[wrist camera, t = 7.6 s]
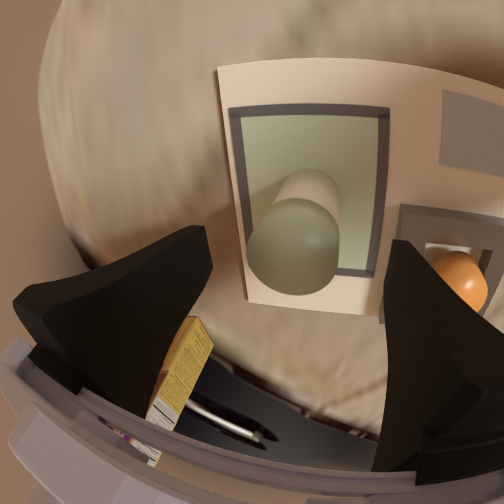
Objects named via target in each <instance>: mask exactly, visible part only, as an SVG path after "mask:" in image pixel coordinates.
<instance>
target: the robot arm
mask: <svg viewBox="0 0 504 504" xmlns="http://www.w3.org/2000/svg"><path fill="white" fill-rule="evenodd" d="M212 269H213V265H212V260H211V255H210V251H209V246H208V241H207V236H206V232H205V227H204V226H196V225H191V226H188V227H185V228H183V229H180V230H178V231H176V232H174V233H172V234H170V235H168V236H166V237H164V238H162V239H160V240H158V241H156V242H154V243H152V244H151V245H149V246H147V247H145V248H143V249H141V250H138V251H136V252H134V253H132V254H130V255H128V256H126V257H124V258H122V259H120V260H117V261H115V262H113V263H110V264H108V265H105V266H103V267H100V268H97V269H94V270H91V271H88V272H85V273H82V274H79V275H76V276H72V277H69V278H65V279H60V280H56V281H51V282H45V283H39V284H33V285H30V286H28V287H26V288H25V289H24V290H23V291H22V292H21V293H20V294H19V295H18V296H17V297H16V298H15V299H14V300H13V307H14V310H15V312H16V314H17V316H18V317H19V319H20V321H21V322H22V323H23V325H24V326H25V327H26V329H27V331H28V332H29V333H30V335H31V336H32V337H33V339H34V340H35V341H36V343H37V345H36V346H35V347H34V348H33V347H32V346H31V345H30V344H29V343H28V342H27V341H26V340H24V339H23V338H22V337H21V336H17V337H16V338H15V339H14V340H13V342H12V343H11V344H10V345H9V346H8V348H7V349H6V350H5V351H4V353H3V354H2V355H1V356H0V391H1V392H2V394H3V395H4V397H5V399H6V400H7V402H8V404H9V405H10V407H11V408H12V410H13V412H14V413H15V415H16V416H17V418H18V419H19V421H18V422H17V424H16V425H15V427H14V428H13V430H12V432H11V433H10V435H9V436H8V438H7V441H8V444H9V447H10V448H11V450H12V452H13V453H14V455H15V456H16V457H17V459H18V460H19V461H20V462H21V463H22V464H23V466H25V468H26V469H27V470H28V471H29V472H30V473H31V474H32V475H33V476H34V478H35V479H36V480H35V482H34V483H33V485H32V487H31V489H30V490H29V492H28V494H27V496H26V498H25V500H24V502H23V503H22V504H252V503H248V502H244V501H240V500H237V499H234V498H230V497H227V496H224V495H221V494H218V493H215V492H212V491H209V490H206V489H204V488H201V487H198V486H196V485H193V484H190V483H188V482H185V481H183V480H181V479H178V478H176V477H174V476H171V475H169V474H167V473H165V472H162V471H160V470H158V469H156V468H154V467H152V466H150V465H148V464H147V463H148V461H149V459H150V458H149V456H148V455H147V454H145V453H143V452H142V451H140V450H139V449H137V448H135V447H134V446H133V445H131V444H130V443H129V442H127V441H126V440H125V439H124V438H122V437H121V436H120V435H119V434H117V433H116V432H114V431H113V430H111V429H110V428H108V425H110V426H111V427H113V428H115V429H117V430H118V431H120V432H122V433H124V434H126V435H127V436H129V437H131V438H133V439H135V440H137V441H139V442H141V443H143V444H145V445H147V446H149V447H151V448H154V449H156V450H158V451H160V452H162V453H165V454H167V455H169V456H172V457H174V458H176V459H179V460H182V461H184V462H186V463H189V464H192V465H195V466H197V467H200V468H203V469H206V470H209V471H212V472H215V473H218V474H221V475H224V476H228V477H231V478H235V479H238V480H242V481H246V482H250V483H254V484H258V485H262V486H267V487H272V488H277V489H282V490H288V491H294V492H300V493H308V494H316V495H326V496H339V497H360V498H315V497H314V498H313V497H310V498H309V499H307V500H306V504H504V334H503V333H502V332H500V331H499V330H498V329H496V328H495V327H494V326H493V325H491V324H490V323H489V322H488V321H487V320H485V319H484V318H483V317H482V316H480V315H479V314H478V313H477V312H476V311H475V310H473V309H472V308H471V307H470V306H469V305H468V304H467V303H466V302H465V301H464V300H463V299H462V298H461V297H460V296H459V295H458V294H457V293H456V292H455V291H454V290H453V289H452V288H451V287H450V286H449V285H448V284H447V283H446V282H445V281H444V280H443V279H442V278H441V277H440V275H439V274H438V273H437V272H436V271H435V270H434V269H433V268H432V266H431V265H430V264H429V263H428V262H427V261H426V260H425V258H424V257H423V256H422V255H421V254H420V253H419V252H418V250H417V249H416V248H415V247H414V246H413V245H412V244H411V243H410V242H409V241H407V240H396V239H392V245H391V250H390V255H389V260H388V265H387V270H386V275H385V279H384V284H383V308H384V318H385V328H386V338H387V351H388V378H387V390H386V399H385V407H384V415H383V421H382V426H381V432H380V437H379V442H378V446H377V450H376V455H375V458H374V463H373V466H372V469H371V472H352V471H337V470H326V469H317V468H309V467H302V466H295V465H289V464H284V463H279V462H274V461H269V460H264V459H260V458H255V457H251V456H247V455H243V454H239V453H235V452H232V451H228V450H225V449H221V448H218V447H215V446H212V445H209V444H206V443H202V442H200V441H197V440H194V439H191V438H188V437H186V436H183V435H180V434H177V433H175V432H173V431H170V430H168V429H165V428H163V427H160V426H158V425H156V424H153V423H151V422H149V421H147V420H145V419H146V415H147V411H148V407H149V404H150V400H151V396H152V393H153V390H154V387H155V384H156V381H157V378H158V375H159V372H160V370H161V367H162V365H163V362H164V360H165V357H166V355H167V353H168V350H169V348H170V346H171V344H172V342H173V339H174V337H175V335H176V333H177V332H178V330H179V328H180V326H181V325H182V323H183V321H184V320H185V318H186V317H187V315H188V313H189V312H190V310H191V309H192V307H193V305H194V304H195V302H196V301H197V299H198V297H199V296H200V294H201V292H202V291H203V289H204V287H205V285H206V283H207V281H208V279H209V276H210V274H211V271H212ZM107 424H108V425H107Z"/></svg>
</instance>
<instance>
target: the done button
mask: <svg viewBox="0 0 504 504" xmlns="http://www.w3.org/2000/svg"><path fill="white" fill-rule="evenodd" d="M430 265H431V266H432V268H433V269H434V270H435V271H436V272H437V273H438V274H439V275H440V277H441V278H442V279H443V280H444V281H445V282H446V283H447V284H448V285H449V286H450V287H451V288H452V289H453V290H454V291H455V292H456V293H457V294H458V295H459V296H460V297H461V298H462V299H463V300H464V301H465V302H466V303H467V304H468V305H469V306H470V307H471V308H472V309H473V310H475V311H476V312H478V311H479V310H480V309H481V308H482V306H483V305H484V303H485V300H486V298H487V293H488V288H487V284H486V281H485V279H484V277H483V275H482V273H481V271H480V269H479V267H478V265H477V263H476V261H475V260H474V258H473V257H472V256H471V255H470V254H468V253H466V252H463V251H450V252H447V253H444V254H442V255H440V256H438V257H437V258H435V259H434V260H433V261H432V262H431V263H430Z"/></svg>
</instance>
